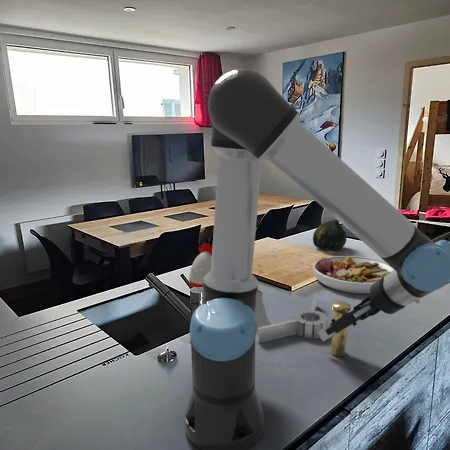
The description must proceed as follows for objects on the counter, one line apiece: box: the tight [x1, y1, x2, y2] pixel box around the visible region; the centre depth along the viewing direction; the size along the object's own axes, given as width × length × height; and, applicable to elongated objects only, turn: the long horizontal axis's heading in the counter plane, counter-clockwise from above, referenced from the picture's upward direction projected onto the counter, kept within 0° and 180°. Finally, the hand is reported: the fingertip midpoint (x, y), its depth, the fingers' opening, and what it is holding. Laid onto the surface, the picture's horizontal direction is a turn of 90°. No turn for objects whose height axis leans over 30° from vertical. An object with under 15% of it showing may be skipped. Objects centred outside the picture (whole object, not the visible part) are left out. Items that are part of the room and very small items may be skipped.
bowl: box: [312, 255, 394, 295], centre depth 147 cm, size 30×30×8 cm
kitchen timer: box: [188, 242, 213, 288], centre depth 147 cm, size 14×14×15 cm
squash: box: [312, 219, 347, 251], centre depth 186 cm, size 14×15×15 cm
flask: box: [255, 288, 271, 328], centre depth 115 cm, size 7×7×10 cm
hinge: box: [256, 293, 329, 344], centre depth 115 cm, size 27×18×4 cm, turn 163°
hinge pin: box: [330, 300, 351, 357], centre depth 99 cm, size 4×4×13 cm
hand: (325, 333), depth 102 cm, fingers closed on hinge pin, 3 cm apart
